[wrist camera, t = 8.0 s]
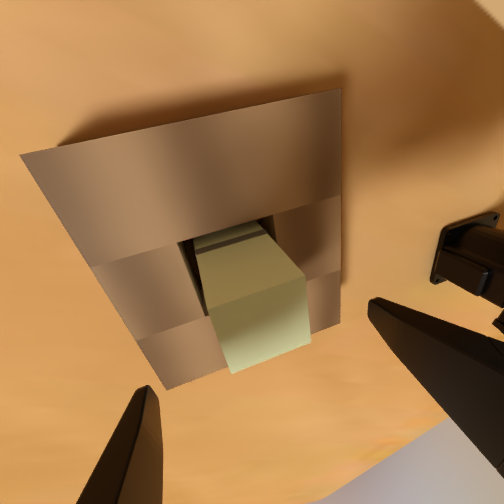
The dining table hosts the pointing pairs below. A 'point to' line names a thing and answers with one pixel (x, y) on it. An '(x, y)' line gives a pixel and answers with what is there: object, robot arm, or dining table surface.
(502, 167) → the dining table surface
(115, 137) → the board
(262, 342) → the peg
